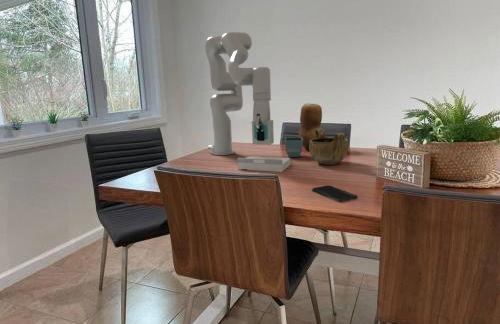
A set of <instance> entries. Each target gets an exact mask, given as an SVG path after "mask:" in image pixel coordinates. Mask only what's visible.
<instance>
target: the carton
mask: <svg viewBox="0 0 500 324" xmlns="http://www.w3.org/2000/svg"><path fill="white" fill-rule="evenodd" d="M255 124H256V123H255ZM255 124H253V120H251V135H252V136H251V137H252V145H256V146H257V145H260V146H261V145H263V146H265V145H266V146H270V145H273V144H274V120H273V119H270V120H268V121H265V124H264V130H263V131H264V139H265V140H264V141H257V128H256V125H255ZM259 124H262V123H259ZM261 128H262V126H261Z"/></svg>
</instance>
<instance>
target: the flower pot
mask: <svg viewBox="0 0 500 324" xmlns="http://www.w3.org/2000/svg"><path fill="white" fill-rule="evenodd" d="M284 146H285V152H286V155H287V158H299V157H300V156H301V154H302V150H303V139H302V138H299V137H284Z"/></svg>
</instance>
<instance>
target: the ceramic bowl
mask: <svg viewBox="0 0 500 324" xmlns="http://www.w3.org/2000/svg"><path fill="white" fill-rule="evenodd" d="M315 134H316V138H314V139H311V140H310V143H309V149H310V150H309V154H310V156H311V158H312V159H313V160H314V161H315V162H317V163H320V164H322V165H325V166H331V165H337V164H338V163H341V162H342V161H343V160H344V159H345V158H346V156H347V154H348V149H349V146H348V145H349V141H348V139H347V138H346V135H345V133H344V132H339V133H335V134H334V136H326V132H325V130H324V128H321V129H316V131H315Z"/></svg>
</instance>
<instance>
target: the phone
mask: <svg viewBox="0 0 500 324" xmlns="http://www.w3.org/2000/svg"><path fill="white" fill-rule="evenodd" d="M311 192H313V193H316V194H319V195H320V196H322V197H325V198H328V199H330V200H333V201H335V202H337V203H344V202H349V201H353V200H357V199H358V195H356V194H354V193H351V192H348V191H346V190H343V189H341V188H338V187H335V186H332V185H323V186H317V187H312V188H311Z"/></svg>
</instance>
